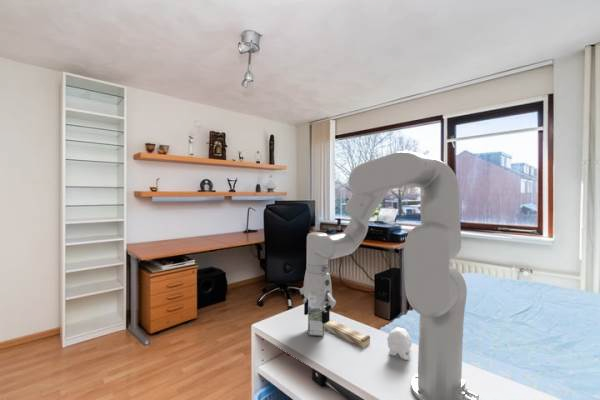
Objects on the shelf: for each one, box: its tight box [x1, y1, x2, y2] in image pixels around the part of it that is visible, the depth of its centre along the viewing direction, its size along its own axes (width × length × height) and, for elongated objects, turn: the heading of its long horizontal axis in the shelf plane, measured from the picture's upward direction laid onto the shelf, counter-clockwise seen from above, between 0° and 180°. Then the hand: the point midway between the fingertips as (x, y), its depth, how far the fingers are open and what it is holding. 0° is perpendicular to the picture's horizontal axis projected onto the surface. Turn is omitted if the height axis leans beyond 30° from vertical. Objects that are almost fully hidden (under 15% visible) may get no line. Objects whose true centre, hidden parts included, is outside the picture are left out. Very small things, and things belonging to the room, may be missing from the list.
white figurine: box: [386, 326, 412, 361], centre depth 85 cm, size 6×8×12 cm
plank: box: [324, 318, 371, 349], centre depth 97 cm, size 22×4×2 cm, turn 42°
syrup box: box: [307, 292, 326, 337], centre depth 96 cm, size 6×6×14 cm
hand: (316, 317), depth 96 cm, fingers closed on syrup box, 8 cm apart
